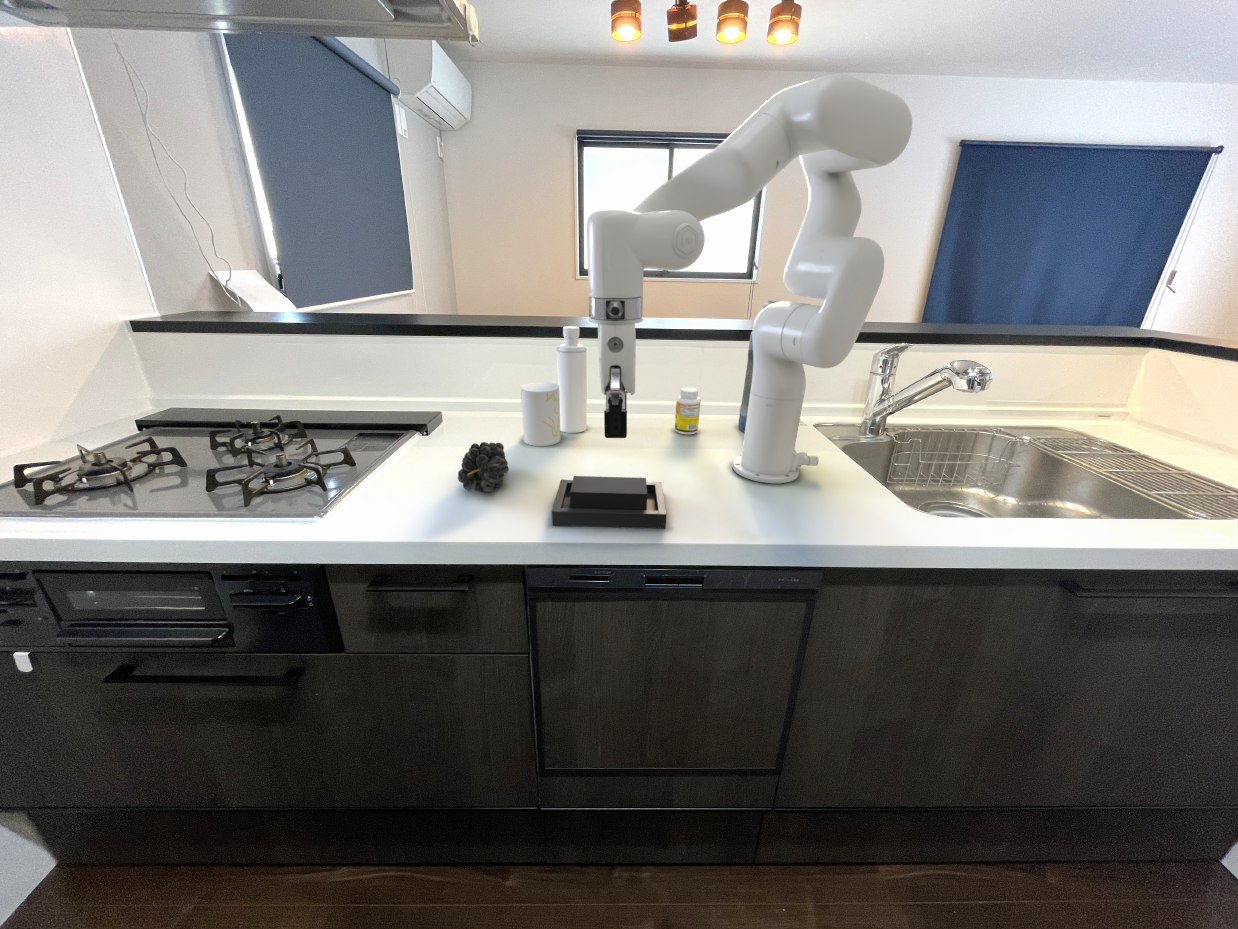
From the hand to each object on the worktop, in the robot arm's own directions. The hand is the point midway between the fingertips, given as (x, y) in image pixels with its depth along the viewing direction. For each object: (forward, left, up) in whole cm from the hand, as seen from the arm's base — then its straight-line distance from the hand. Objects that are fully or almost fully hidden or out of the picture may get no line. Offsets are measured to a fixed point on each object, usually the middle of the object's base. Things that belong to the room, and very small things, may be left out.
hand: (616, 425), depth 76 cm
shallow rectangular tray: (+1, +1, -14) cm, 14 cm away
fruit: (+23, -9, -15) cm, 28 cm away
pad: (+1, +1, -13) cm, 13 cm away
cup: (+17, -31, -15) cm, 38 cm away
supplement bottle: (-16, -39, -15) cm, 45 cm away
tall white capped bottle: (+11, -39, -15) cm, 43 cm away
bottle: (-34, -42, -15) cm, 56 cm away
